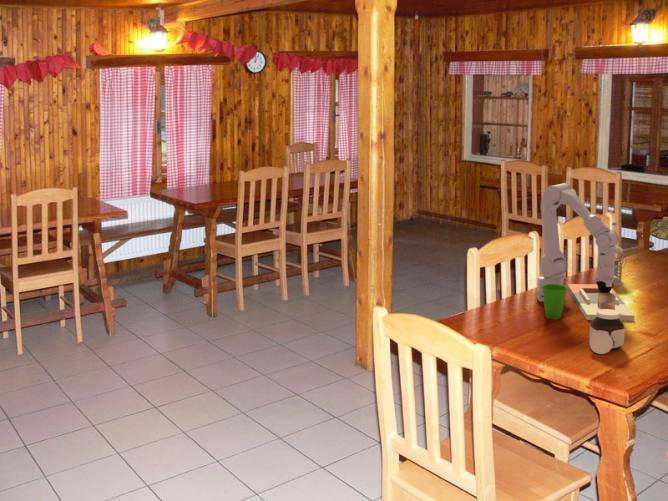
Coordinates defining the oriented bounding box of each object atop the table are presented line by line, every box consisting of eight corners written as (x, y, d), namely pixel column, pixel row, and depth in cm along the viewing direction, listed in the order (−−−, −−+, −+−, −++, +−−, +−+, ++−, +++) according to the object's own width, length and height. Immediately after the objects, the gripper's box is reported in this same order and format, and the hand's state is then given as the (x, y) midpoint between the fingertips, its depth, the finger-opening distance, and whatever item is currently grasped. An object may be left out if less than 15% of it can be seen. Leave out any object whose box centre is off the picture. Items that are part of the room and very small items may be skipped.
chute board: (586, 320, 290) (587, 310, 290) (567, 288, 331) (567, 280, 330) (634, 321, 289) (634, 311, 288) (608, 289, 329) (609, 280, 329)
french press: (593, 281, 343) (596, 221, 337) (614, 277, 347) (618, 218, 342) (610, 286, 334) (613, 225, 329) (632, 283, 339) (636, 222, 333)
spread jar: (617, 343, 266) (619, 308, 264) (630, 355, 255) (633, 318, 253) (580, 344, 266) (582, 309, 263) (592, 356, 255) (594, 319, 252)
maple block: (600, 310, 295) (601, 296, 294) (597, 306, 300) (598, 292, 299) (614, 310, 295) (615, 296, 294) (611, 306, 299) (612, 292, 298)
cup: (537, 318, 293) (538, 288, 290) (543, 312, 301) (544, 282, 298) (563, 322, 289) (564, 291, 286) (569, 315, 296) (570, 285, 294)
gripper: (622, 269, 291) (619, 307, 293) (612, 260, 305) (610, 296, 308) (601, 269, 291) (599, 306, 294) (593, 259, 305) (591, 295, 308)
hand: (603, 301), depth 301 cm, fingers closed
